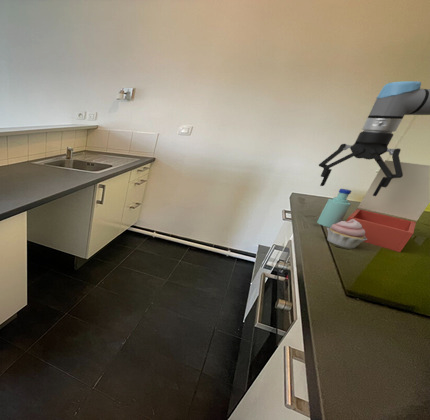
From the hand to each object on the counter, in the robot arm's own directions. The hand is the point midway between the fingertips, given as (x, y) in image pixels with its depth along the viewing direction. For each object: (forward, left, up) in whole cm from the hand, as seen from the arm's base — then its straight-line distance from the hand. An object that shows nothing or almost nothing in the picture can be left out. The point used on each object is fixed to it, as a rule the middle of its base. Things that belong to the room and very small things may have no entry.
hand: (346, 190), depth 93 cm
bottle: (0, 0, -16) cm, 16 cm away
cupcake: (+1, +20, -16) cm, 25 cm away
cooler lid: (-14, -5, +2) cm, 15 cm away
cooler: (-11, +4, -16) cm, 19 cm away
